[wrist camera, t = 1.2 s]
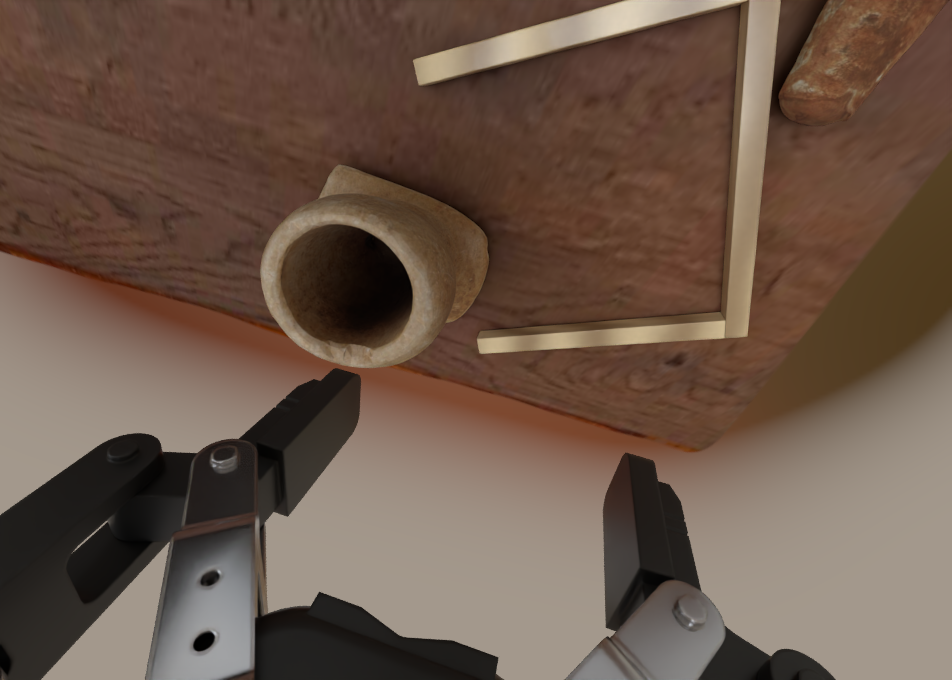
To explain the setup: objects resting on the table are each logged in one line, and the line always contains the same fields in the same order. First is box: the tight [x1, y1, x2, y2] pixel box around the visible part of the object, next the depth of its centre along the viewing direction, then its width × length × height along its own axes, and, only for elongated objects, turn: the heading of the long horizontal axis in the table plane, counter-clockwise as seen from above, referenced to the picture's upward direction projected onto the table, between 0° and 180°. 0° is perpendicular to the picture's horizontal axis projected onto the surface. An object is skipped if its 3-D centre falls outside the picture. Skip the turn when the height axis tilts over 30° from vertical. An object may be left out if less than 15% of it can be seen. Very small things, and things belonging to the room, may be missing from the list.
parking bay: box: [413, 0, 781, 354], centre depth 30 cm, size 20×22×2 cm
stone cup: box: [260, 164, 489, 368], centre depth 29 cm, size 15×12×15 cm
